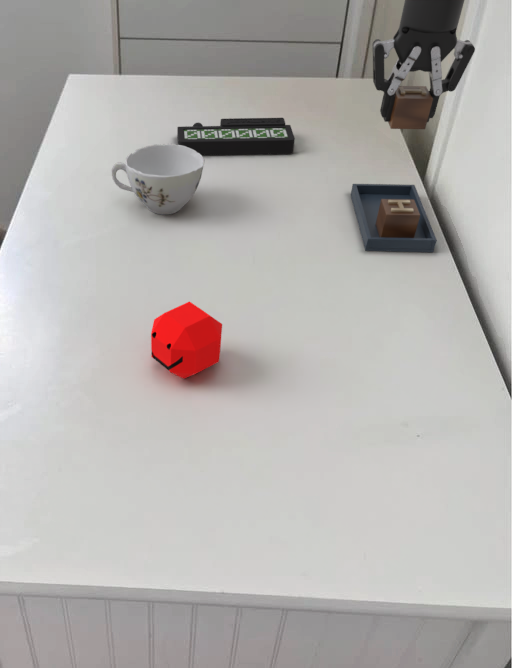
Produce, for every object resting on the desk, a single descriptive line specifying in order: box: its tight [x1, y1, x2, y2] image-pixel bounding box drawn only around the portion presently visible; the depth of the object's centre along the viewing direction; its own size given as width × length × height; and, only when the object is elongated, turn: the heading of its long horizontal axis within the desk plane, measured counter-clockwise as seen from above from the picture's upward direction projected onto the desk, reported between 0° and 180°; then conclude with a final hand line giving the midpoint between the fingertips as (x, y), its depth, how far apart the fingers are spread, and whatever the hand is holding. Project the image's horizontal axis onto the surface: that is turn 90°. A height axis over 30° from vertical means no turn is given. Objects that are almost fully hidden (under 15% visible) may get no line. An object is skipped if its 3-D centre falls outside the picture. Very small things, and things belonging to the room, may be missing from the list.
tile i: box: [387, 85, 433, 130], centre depth 105 cm, size 5×5×4 cm
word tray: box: [350, 183, 437, 253], centre depth 114 cm, size 10×18×2 cm, turn 176°
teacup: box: [111, 143, 205, 216], centre depth 117 cm, size 15×12×8 cm
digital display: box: [176, 117, 296, 157], centre depth 135 cm, size 21×3×10 cm
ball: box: [150, 301, 223, 380], centre depth 88 cm, size 8×8×8 cm
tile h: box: [376, 199, 420, 238], centre depth 110 cm, size 5×5×4 cm
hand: (405, 119), depth 106 cm, fingers closed on tile i, 5 cm apart
